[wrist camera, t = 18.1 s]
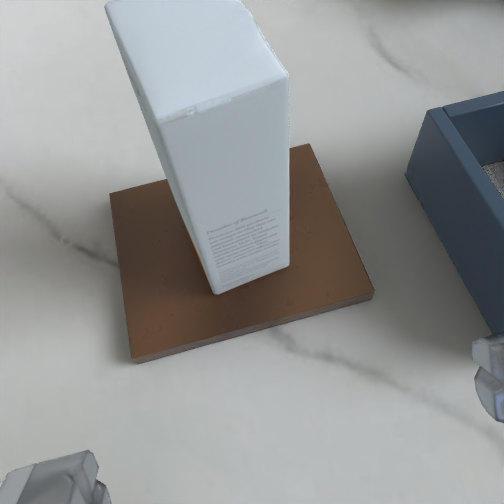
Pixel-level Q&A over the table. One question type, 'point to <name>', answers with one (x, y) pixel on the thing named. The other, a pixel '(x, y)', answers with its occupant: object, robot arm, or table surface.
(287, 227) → the cosmetic box
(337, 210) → the coaster
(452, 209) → the holder
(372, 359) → the table surface
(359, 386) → the table surface
